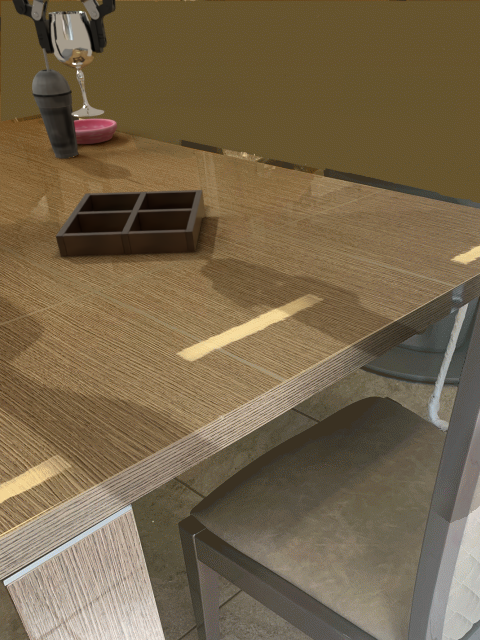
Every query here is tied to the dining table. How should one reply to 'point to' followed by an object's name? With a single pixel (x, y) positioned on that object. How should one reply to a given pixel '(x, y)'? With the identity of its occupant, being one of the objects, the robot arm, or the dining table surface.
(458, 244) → the dining table surface
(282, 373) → the dining table surface
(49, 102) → the beverage cup
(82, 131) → the pink round shallow bowl
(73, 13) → the wineglass
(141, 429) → the dining table surface
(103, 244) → the tray
